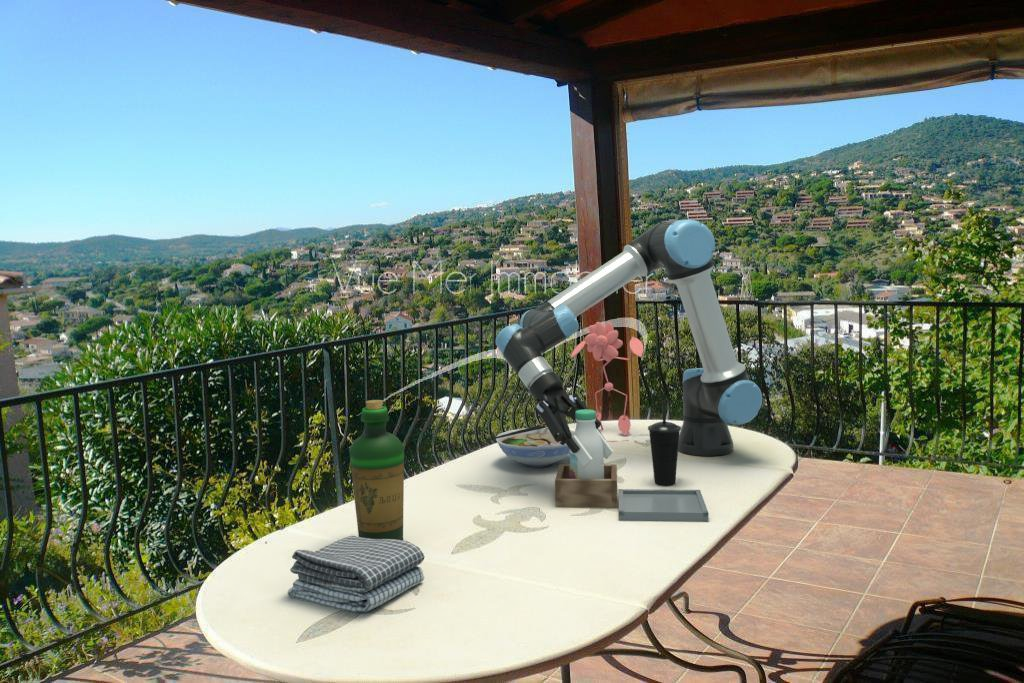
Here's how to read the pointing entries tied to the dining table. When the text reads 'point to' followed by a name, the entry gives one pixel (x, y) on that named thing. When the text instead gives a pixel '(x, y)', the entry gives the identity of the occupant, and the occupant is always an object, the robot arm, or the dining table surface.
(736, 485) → the dining table surface
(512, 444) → the ramen bowl
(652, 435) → the drinking cup
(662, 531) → the dining table surface
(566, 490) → the holder
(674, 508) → the tray
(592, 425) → the milk bottle
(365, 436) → the bottle
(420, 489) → the dining table surface
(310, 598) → the towel
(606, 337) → the figurine
